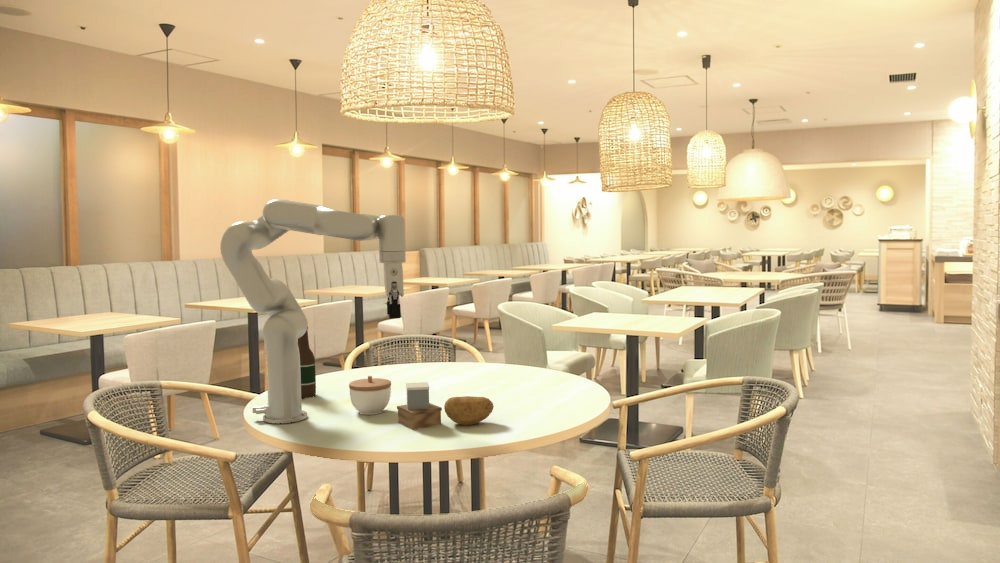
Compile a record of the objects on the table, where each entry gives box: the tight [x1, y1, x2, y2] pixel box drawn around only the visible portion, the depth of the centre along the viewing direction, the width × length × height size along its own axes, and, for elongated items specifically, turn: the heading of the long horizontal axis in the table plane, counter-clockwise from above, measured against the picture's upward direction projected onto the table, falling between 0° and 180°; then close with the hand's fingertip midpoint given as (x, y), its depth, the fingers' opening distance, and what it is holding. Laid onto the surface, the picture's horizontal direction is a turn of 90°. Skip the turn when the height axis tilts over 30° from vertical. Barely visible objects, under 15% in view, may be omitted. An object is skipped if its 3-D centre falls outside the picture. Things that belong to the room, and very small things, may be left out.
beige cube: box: [405, 381, 430, 410], centre depth 210 cm, size 6×6×6 cm
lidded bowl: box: [348, 375, 392, 416], centre depth 224 cm, size 13×13×11 cm
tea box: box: [396, 402, 443, 431], centre depth 210 cm, size 9×9×5 cm
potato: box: [443, 395, 494, 426], centre depth 209 cm, size 10×14×8 cm
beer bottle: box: [297, 326, 317, 399], centre depth 245 cm, size 8×8×24 cm
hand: (393, 316), depth 214 cm, fingers open, 9 cm apart
